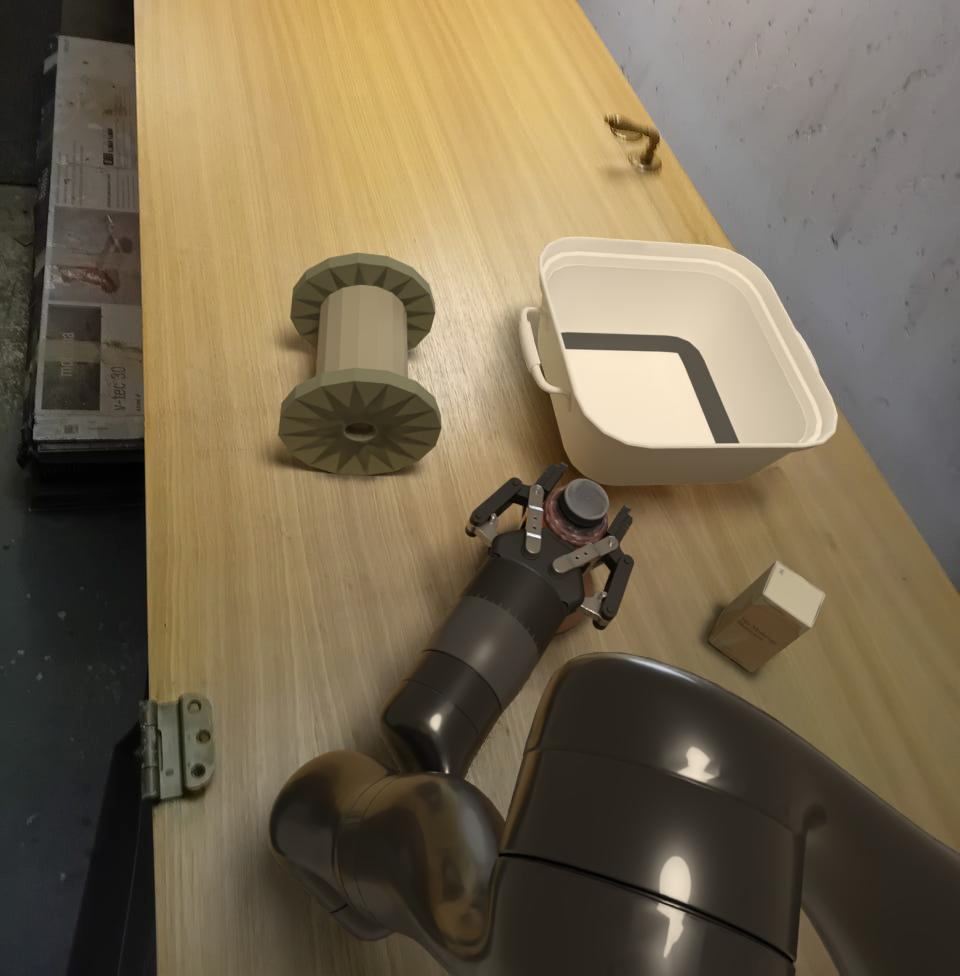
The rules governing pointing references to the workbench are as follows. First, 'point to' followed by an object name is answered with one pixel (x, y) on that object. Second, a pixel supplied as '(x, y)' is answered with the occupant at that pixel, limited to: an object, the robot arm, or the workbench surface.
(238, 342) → the workbench surface
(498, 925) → the robot arm
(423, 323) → the spool
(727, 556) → the workbench surface
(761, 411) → the pot
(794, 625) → the box
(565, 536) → the supplement bottle
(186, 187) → the workbench surface
